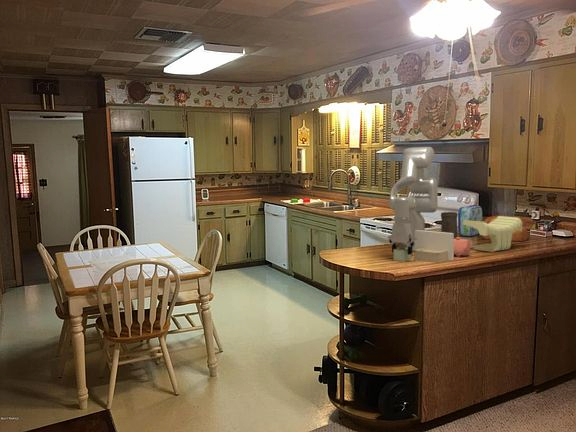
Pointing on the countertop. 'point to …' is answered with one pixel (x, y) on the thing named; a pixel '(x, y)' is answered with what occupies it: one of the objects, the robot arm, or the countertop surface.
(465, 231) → the lunch box
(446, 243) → the beige slab with panel
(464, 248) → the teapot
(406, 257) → the cabinet box
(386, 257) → the countertop surface
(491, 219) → the bread
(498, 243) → the slatted curved stool
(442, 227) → the beer stein
